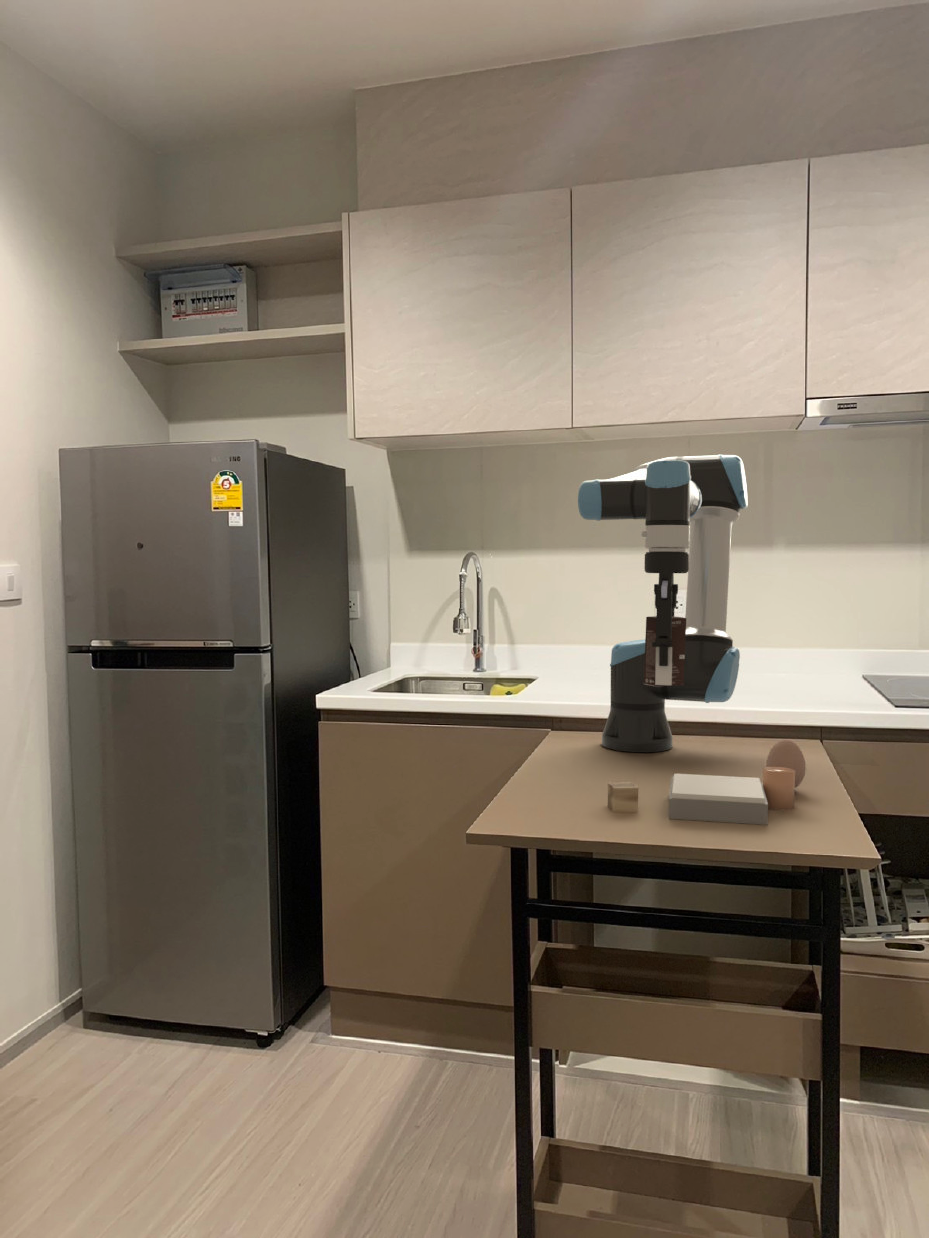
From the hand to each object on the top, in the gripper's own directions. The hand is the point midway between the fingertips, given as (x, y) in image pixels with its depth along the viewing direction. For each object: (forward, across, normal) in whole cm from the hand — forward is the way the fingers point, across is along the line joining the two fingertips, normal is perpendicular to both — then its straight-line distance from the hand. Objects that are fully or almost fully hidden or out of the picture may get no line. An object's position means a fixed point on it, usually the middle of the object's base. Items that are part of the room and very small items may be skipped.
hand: (664, 681), depth 169 cm
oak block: (+20, +13, -6) cm, 24 cm away
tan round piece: (+19, +5, +19) cm, 28 cm away
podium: (+19, +10, +9) cm, 24 cm away
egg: (+20, -6, +21) cm, 29 cm away
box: (+1, 0, 0) cm, 1 cm away
